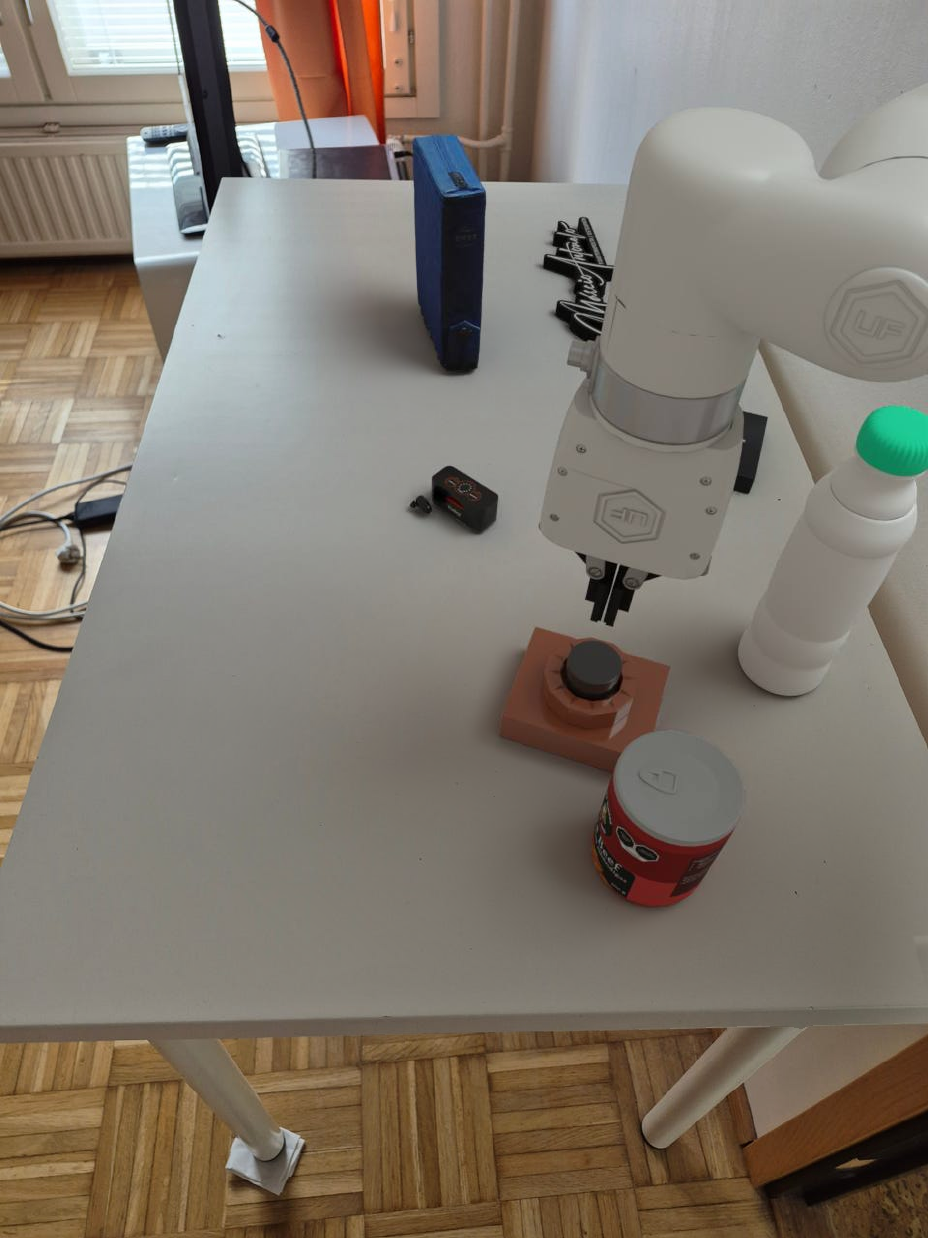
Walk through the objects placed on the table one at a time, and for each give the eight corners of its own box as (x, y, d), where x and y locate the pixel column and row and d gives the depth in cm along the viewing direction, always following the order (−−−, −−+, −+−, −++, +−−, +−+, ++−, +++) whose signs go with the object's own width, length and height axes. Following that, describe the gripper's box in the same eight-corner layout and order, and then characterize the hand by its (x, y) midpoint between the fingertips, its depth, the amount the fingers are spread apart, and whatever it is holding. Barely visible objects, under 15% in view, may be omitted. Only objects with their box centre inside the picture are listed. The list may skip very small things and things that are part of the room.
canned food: (585, 805, 65) (610, 725, 56) (694, 810, 65) (736, 731, 56) (591, 908, 60) (620, 839, 51) (709, 914, 60) (757, 845, 51)
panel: (762, 431, 92) (768, 415, 90) (749, 494, 86) (755, 477, 84) (649, 404, 94) (653, 387, 92) (628, 463, 88) (632, 446, 86)
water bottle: (788, 715, 70) (929, 479, 51) (718, 659, 73) (825, 418, 54) (838, 668, 73) (990, 430, 54) (769, 617, 76) (888, 374, 57)
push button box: (662, 687, 71) (676, 650, 67) (638, 781, 66) (651, 746, 62) (531, 648, 73) (537, 610, 69) (498, 736, 68) (503, 700, 64)
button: (622, 665, 67) (627, 649, 65) (610, 707, 65) (615, 691, 63) (571, 650, 68) (575, 633, 66) (558, 690, 65) (561, 675, 64)
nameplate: (657, 338, 99) (569, 342, 98) (654, 350, 100) (568, 353, 99) (604, 216, 116) (529, 217, 115) (602, 227, 117) (528, 229, 116)
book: (485, 374, 96) (497, 190, 81) (438, 380, 95) (440, 195, 80) (455, 301, 105) (460, 122, 89) (411, 306, 104) (408, 126, 88)
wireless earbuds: (442, 485, 85) (442, 459, 83) (498, 521, 82) (501, 496, 80) (408, 510, 83) (408, 484, 80) (465, 548, 80) (467, 523, 78)
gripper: (505, 390, 44) (484, 617, 59) (806, 466, 42) (706, 684, 56) (546, 312, 49) (517, 541, 63) (820, 376, 46) (724, 599, 61)
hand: (606, 608), depth 60 cm, fingers closed
